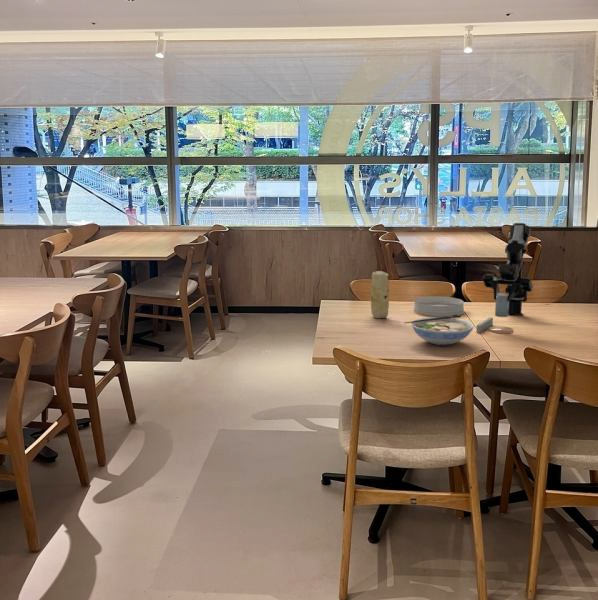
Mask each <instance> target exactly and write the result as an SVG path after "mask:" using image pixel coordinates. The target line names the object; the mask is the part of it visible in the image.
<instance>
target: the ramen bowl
mask: <svg viewBox="0 0 598 600" xmlns="http://www.w3.org/2000/svg"><path fill="white" fill-rule="evenodd" d="M461 317H462V316H461V315H457V314H456V315H450V316H430V317H421V318H417V319H413V320H411V321H407V322H405V321H404V324H411V327H412V329H413V330H414V332H415V334H416V335H417V336H418V338H419V337H420V338H421V340H424V341H426V342H428V343H431V344H432V345H434V344H435V346H440V345H443V347H444V346H445V345H446V346H450V345H452V344H456V343H459V342H461V341H462V340H464V339H466V338H467V337H468V335H470V333H471V332H472V331H473V330H474V327H475V326H474V324H473V322H470V321H468V320H464V319H460V318H461Z"/></svg>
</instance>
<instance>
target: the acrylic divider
mask: <svg viewBox="0 0 598 600" xmlns="http://www.w3.org/2000/svg"><path fill="white" fill-rule="evenodd" d="M493 321H494V317H488V318H486V319H485V320H482V322H480V323H478V324H477V325H476V333H477V334H480V333H482V332H484V331H485V330H487V329H489V328H490V327H493V323H494V322H493Z"/></svg>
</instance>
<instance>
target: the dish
mask: <svg viewBox="0 0 598 600" xmlns="http://www.w3.org/2000/svg"><path fill="white" fill-rule="evenodd" d="M413 305H414V306H413V311H414V313H416V314H418V313H419V315H423V316H429V317H443V316H450V315H456V314H457V315H460V316H461V315H463V314H464V311H465V309H464V305H465V304H464V300H462V299H461V298H456V297H451V296H440V295H439V296H438V295H437V296H436V295H435V296H434V295H433V296H432V295H431V296H421V297H418V298H415V299H414V304H413Z"/></svg>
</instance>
